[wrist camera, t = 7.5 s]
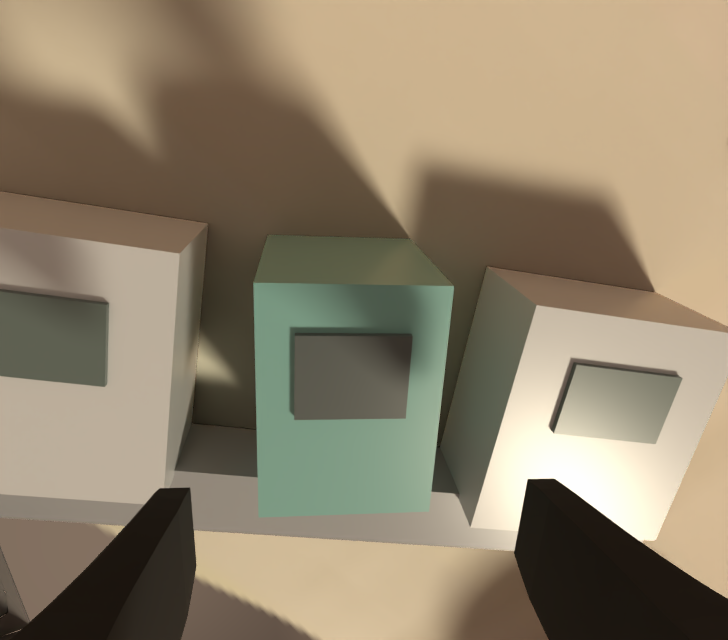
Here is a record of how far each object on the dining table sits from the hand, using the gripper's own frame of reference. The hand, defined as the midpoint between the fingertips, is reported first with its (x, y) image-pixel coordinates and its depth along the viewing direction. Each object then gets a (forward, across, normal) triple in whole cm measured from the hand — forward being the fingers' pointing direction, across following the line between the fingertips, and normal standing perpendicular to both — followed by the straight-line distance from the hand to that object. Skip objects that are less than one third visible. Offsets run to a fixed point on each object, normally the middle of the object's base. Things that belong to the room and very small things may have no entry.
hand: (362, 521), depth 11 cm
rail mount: (+9, 0, +1) cm, 9 cm away
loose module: (+10, 0, -1) cm, 10 cm away
